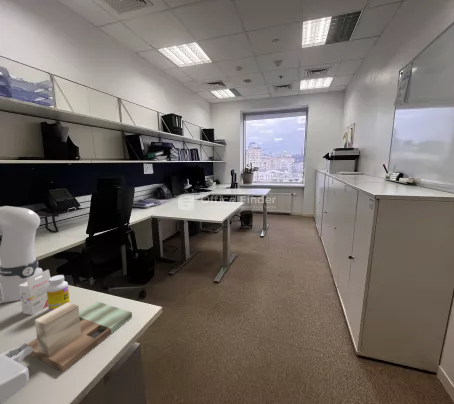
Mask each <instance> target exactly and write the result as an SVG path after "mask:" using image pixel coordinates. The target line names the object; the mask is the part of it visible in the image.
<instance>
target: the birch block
mask: <svg viewBox="0 0 454 404" xmlns="http://www.w3.org/2000/svg"><path fill="white" fill-rule="evenodd" d="M79 312H80V309H79V305H78V304H74V303H71V302H70V303H66V304H64V305H62V306H60V307H58V308H56V309H54V310H52V311H51V312H50V311H48V312H47V313H46V314H43V315H41V316H40V317H38V318H36V319H34V325H35V334H36V335H35V336H36V338H37V342H38V350H39V352H41V353H43V354H45V355H47V356H49V357H50V356H51V355H53V354H54V353H56V352H57V351H58V350H60V349H61V348H63V347H64V346H66V345H67V344H68V343H70V342H71V341H73V340H74V339H76V338H77V337H78V336H80V335H81V328H80V318H79Z"/></svg>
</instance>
